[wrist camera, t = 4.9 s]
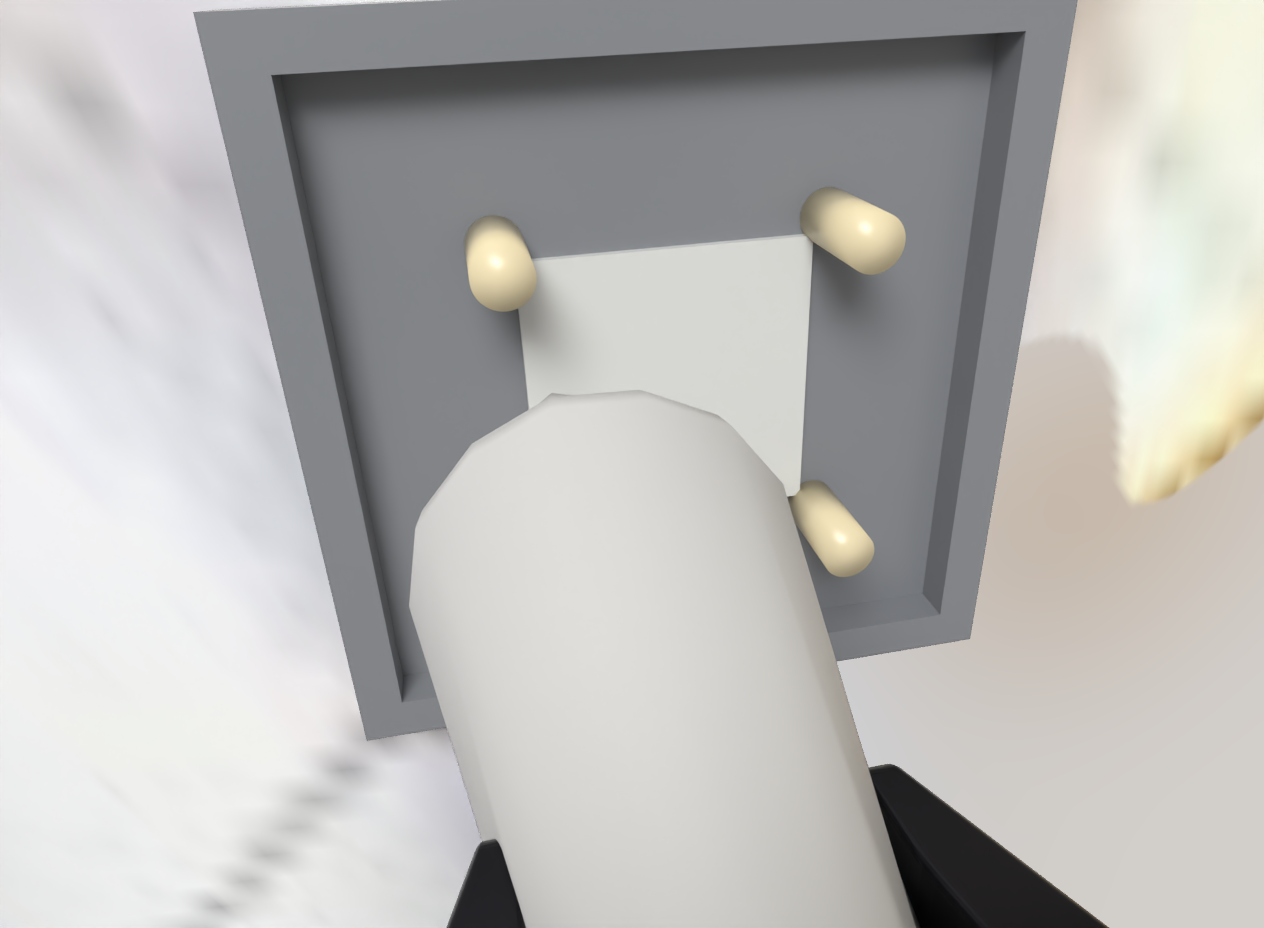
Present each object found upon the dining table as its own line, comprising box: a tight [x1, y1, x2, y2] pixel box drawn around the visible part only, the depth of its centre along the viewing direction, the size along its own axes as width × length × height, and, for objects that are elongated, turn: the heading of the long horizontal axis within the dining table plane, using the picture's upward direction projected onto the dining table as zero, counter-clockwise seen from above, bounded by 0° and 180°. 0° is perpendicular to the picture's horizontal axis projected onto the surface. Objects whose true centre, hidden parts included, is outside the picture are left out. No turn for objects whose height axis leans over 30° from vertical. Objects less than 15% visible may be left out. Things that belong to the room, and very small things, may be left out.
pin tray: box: [193, 0, 1078, 741], centre depth 20 cm, size 16×16×4 cm
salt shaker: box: [409, 390, 921, 928], centre depth 10 cm, size 6×6×13 cm
